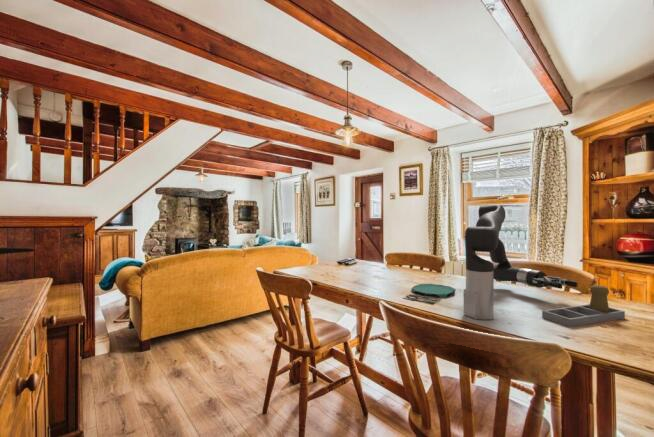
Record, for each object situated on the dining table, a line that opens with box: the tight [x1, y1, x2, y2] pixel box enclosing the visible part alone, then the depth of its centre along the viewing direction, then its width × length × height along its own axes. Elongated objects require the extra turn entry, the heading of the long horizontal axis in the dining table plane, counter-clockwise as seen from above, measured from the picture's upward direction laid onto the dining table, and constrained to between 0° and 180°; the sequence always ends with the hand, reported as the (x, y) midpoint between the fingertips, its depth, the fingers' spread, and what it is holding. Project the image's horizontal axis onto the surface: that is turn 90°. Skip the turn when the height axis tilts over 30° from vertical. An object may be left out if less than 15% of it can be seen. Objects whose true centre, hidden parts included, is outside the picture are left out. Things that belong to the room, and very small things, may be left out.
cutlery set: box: [402, 283, 456, 305], centre depth 140 cm, size 20×30×2 cm, turn 139°
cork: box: [589, 284, 610, 313], centre depth 109 cm, size 6×6×11 cm
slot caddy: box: [541, 303, 626, 328], centre depth 107 cm, size 27×10×2 cm, turn 107°
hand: (569, 285), depth 119 cm, fingers open, 8 cm apart
